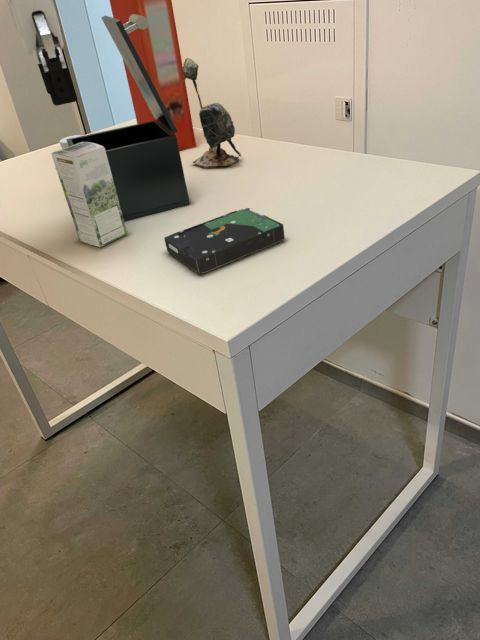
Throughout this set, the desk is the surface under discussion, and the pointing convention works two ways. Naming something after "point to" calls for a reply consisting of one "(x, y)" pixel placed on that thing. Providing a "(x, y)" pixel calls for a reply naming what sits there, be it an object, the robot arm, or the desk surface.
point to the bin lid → (138, 64)
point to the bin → (143, 167)
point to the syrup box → (90, 193)
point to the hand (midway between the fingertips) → (62, 97)
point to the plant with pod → (212, 126)
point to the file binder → (158, 63)
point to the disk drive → (224, 239)
